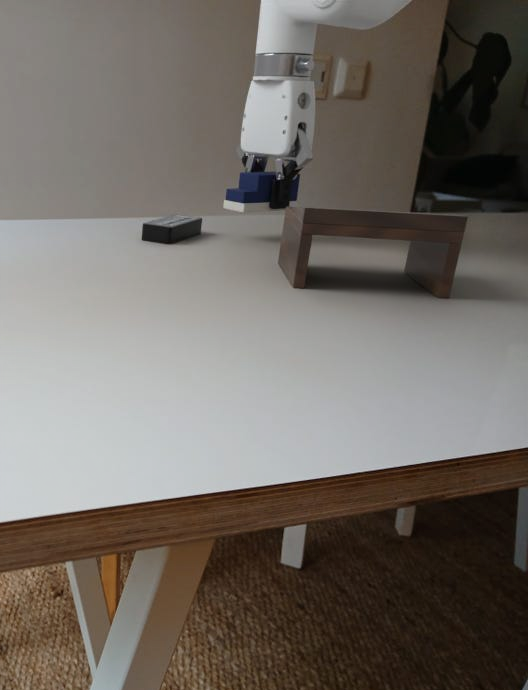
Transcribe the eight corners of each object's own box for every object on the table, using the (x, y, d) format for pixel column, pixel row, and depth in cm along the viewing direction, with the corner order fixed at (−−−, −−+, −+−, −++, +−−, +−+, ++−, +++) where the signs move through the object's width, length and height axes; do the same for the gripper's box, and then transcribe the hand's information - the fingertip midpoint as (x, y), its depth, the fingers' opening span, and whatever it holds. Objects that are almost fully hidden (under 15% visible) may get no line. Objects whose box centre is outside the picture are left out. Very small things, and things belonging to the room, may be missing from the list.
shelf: (414, 272, 89) (429, 200, 86) (449, 298, 78) (468, 216, 75) (277, 263, 91) (287, 192, 88) (292, 287, 80) (305, 207, 77)
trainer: (276, 205, 110) (280, 171, 109) (297, 209, 106) (302, 173, 105) (223, 208, 106) (226, 172, 104) (243, 212, 102) (247, 175, 101)
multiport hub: (140, 239, 103) (141, 223, 102) (174, 229, 111) (175, 213, 110) (169, 244, 100) (170, 227, 100) (201, 233, 109) (203, 217, 108)
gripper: (351, 69, 95) (330, 213, 101) (261, 72, 109) (247, 197, 115) (307, 67, 92) (288, 215, 98) (220, 70, 106) (208, 199, 112)
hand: (266, 204), depth 106 cm, fingers closed on trainer, 4 cm apart
